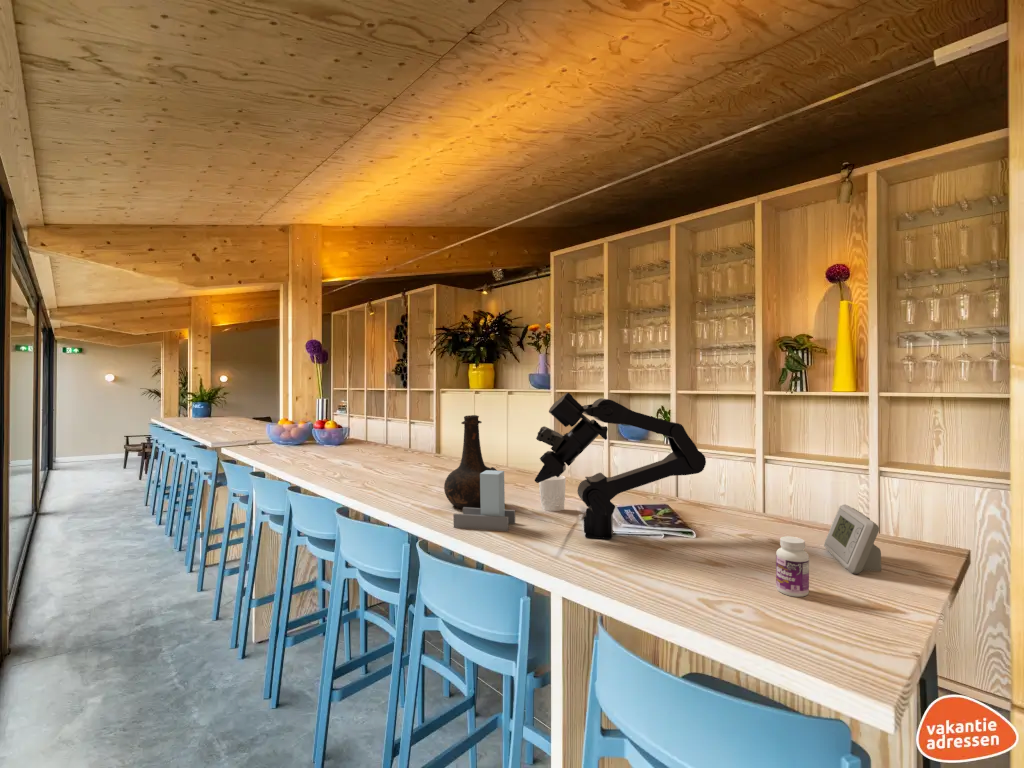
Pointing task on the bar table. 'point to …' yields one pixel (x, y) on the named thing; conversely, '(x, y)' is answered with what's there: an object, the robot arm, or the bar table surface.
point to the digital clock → (854, 541)
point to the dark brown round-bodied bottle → (467, 469)
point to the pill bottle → (792, 567)
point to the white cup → (552, 493)
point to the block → (492, 493)
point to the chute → (483, 520)
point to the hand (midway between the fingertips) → (535, 481)
